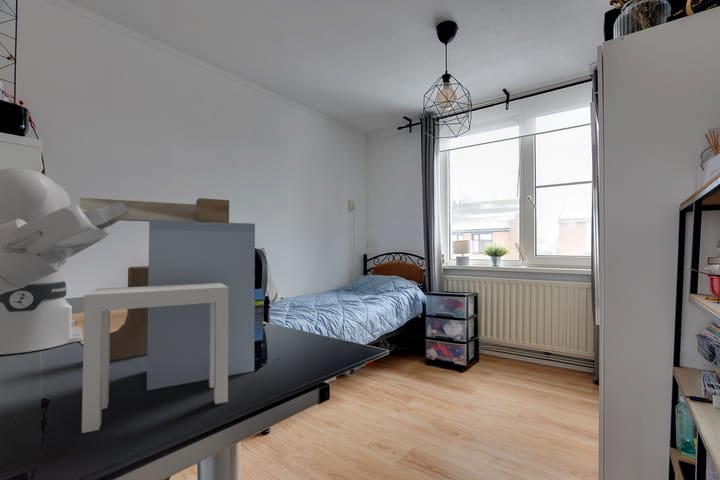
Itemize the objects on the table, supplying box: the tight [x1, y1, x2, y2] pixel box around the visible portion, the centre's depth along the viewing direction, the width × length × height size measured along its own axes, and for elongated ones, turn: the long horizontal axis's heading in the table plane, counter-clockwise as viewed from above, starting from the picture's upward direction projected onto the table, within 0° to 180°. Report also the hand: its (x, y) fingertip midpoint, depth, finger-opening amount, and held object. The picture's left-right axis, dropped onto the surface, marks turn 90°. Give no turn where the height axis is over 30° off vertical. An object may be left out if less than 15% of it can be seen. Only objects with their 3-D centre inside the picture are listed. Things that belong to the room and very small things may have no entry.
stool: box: [81, 283, 229, 434], centre depth 47 cm, size 8×16×16 cm, turn 120°
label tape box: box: [254, 288, 265, 343], centre depth 78 cm, size 9×4×12 cm, turn 141°
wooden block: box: [109, 265, 149, 363], centre depth 69 cm, size 9×4×18 cm, turn 135°
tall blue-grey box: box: [146, 220, 256, 391], centre depth 60 cm, size 10×16×26 cm, turn 120°
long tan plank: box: [79, 197, 230, 223], centre depth 57 cm, size 5×21×4 cm, turn 120°
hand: (127, 208), depth 55 cm, fingers closed on long tan plank, 3 cm apart
